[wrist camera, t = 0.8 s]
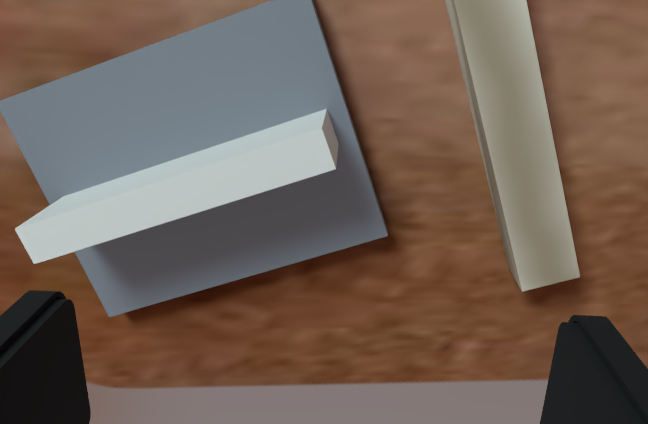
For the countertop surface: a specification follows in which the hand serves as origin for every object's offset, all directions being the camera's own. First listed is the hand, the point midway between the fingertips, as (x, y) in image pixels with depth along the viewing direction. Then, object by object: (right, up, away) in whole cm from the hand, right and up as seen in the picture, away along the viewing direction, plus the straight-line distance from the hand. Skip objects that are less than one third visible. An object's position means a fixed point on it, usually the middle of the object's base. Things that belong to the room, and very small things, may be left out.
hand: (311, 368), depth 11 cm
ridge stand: (-6, +6, +22) cm, 24 cm away
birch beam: (+10, +10, +20) cm, 25 cm away
